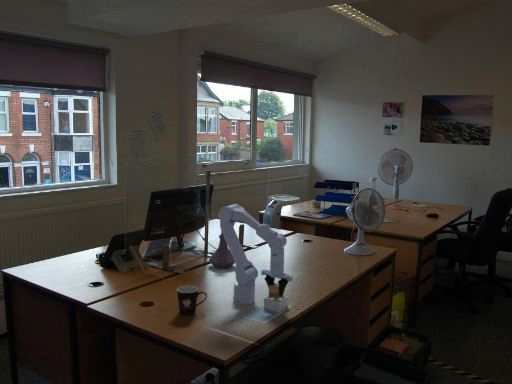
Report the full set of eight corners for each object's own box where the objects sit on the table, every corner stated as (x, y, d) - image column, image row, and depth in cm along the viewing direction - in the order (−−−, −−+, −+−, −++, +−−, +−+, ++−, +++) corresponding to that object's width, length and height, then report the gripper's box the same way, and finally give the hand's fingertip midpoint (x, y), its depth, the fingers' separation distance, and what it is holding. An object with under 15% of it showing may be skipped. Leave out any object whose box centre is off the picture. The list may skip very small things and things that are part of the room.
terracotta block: (277, 299, 193) (278, 287, 193) (268, 296, 196) (268, 285, 195) (283, 296, 197) (283, 284, 196) (274, 293, 199) (274, 282, 199)
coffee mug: (173, 314, 190) (172, 291, 189) (183, 306, 198) (183, 284, 196) (198, 319, 186) (198, 295, 184) (207, 311, 194) (208, 288, 192)
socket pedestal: (278, 312, 192) (279, 301, 192) (263, 308, 196) (264, 297, 196) (288, 306, 198) (288, 296, 198) (273, 302, 202) (273, 292, 202)
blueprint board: (264, 325, 181) (264, 323, 181) (241, 318, 187) (241, 316, 187) (292, 308, 199) (292, 306, 199) (270, 302, 205) (270, 300, 205)
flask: (213, 272, 245) (213, 235, 242) (204, 263, 260) (204, 229, 257) (242, 269, 251) (242, 233, 248) (231, 260, 266) (231, 226, 263)
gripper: (257, 262, 195) (256, 293, 197) (287, 268, 187) (286, 300, 189) (266, 258, 201) (265, 288, 203) (295, 264, 193) (294, 295, 195)
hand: (276, 294), depth 196 cm, fingers closed on terracotta block, 4 cm apart
